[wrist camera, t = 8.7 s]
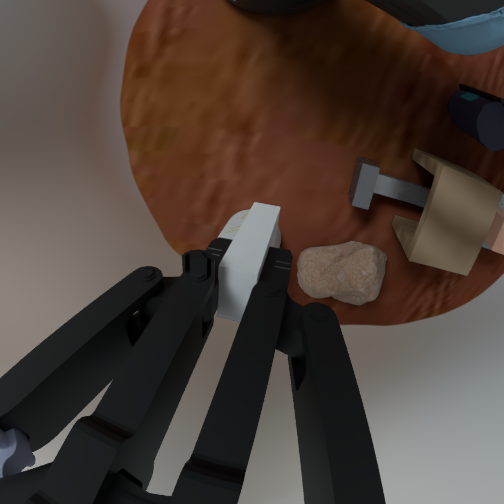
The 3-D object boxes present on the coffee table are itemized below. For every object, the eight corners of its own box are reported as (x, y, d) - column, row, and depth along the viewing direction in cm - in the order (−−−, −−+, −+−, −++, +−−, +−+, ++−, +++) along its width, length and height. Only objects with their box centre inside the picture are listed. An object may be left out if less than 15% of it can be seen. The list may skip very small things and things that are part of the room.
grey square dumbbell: (357, 151, 31) (363, 158, 27) (510, 208, 28) (525, 221, 24) (346, 196, 34) (350, 209, 30) (496, 242, 31) (509, 258, 27)
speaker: (460, 69, 22) (505, 78, 14) (489, 97, 22) (534, 115, 14) (437, 113, 27) (476, 134, 19) (467, 138, 27) (507, 166, 19)
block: (487, 203, 28) (504, 218, 24) (508, 213, 28) (525, 229, 23) (476, 232, 31) (491, 250, 26) (497, 240, 30) (512, 258, 26)
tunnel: (414, 148, 29) (443, 165, 22) (468, 169, 28) (503, 192, 21) (391, 224, 35) (408, 260, 28) (443, 239, 34) (467, 275, 26)
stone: (385, 237, 39) (383, 234, 30) (392, 299, 38) (391, 314, 29) (307, 248, 45) (283, 249, 36) (314, 307, 44) (292, 322, 35)
